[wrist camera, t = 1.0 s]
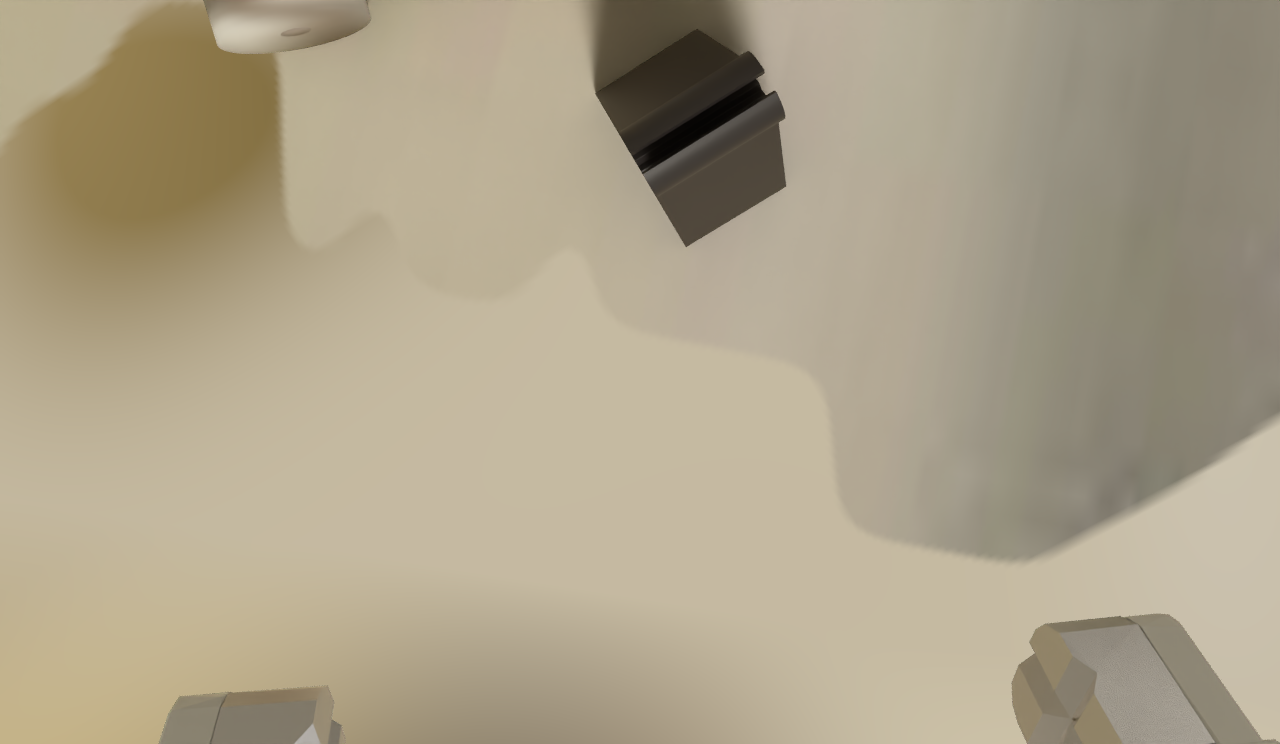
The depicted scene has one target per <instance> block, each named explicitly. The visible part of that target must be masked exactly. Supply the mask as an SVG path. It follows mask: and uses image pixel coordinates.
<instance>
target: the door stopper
mask: <svg viewBox="0 0 1280 744" xmlns="http://www.w3.org/2000/svg"><path fill="white" fill-rule="evenodd" d="M764 73H765V72H764V69H763V68H762V66H761V65H760V63H759V62H758V60H757V59H756V58H755V57H754V55H753V54H752V53H750V52H749V51H747V52H746V53H744V54H742V55H741V56H738V55H737V54H735V53H733V52H732V51H730V50H729V49H727V48H726V47H724V46H723V45H721V44H720V43H718V42H716V41H715V40H713V39H712V38H710V37H709V36H707V35H706V34H704V33H703V32H701V31H699V30H698V29H696V30H695V31H693V32H692V33H690V34H688V35H687V36H685V37H684V38H682V39H681V40H679V41H677V42H676V43H674V44H673V45H671V46H669V47H668V48H666V49H665V50H663V51H662V52H660V53H658V54H657V55H655V56H654V57H652V58H651V59H649V60H647V61H646V62H644V63H643V64H641V65H640V66H638V67H636V68H635V69H633V70H632V71H630V72H629V73H627V74H625V75H624V76H622V77H621V78H619V79H617V80H616V81H614V82H613V83H611V84H610V85H608V86H606V87H605V88H603V89H602V90H600V91H599V92H597V93H595V94H596V96H597V97H598V99H599V101H600V102H601V104H602V106H603V108H604V109H605V111H606V113H607V114H608V116H609V118H610V119H611V121H612V123H613V124H614V126H615V128H616V130H617V131H618V133H619V135H620V136H621V138H622V140H623V141H624V143H625V145H626V147H627V148H628V150H629V152H630V153H631V155H632V157H633V158H634V160H635V162H636V163H637V165H638V167H639V169H640V170H641V172H642V174H643V175H644V177H645V179H646V180H647V182H648V184H649V185H650V187H651V189H652V191H653V192H654V194H655V196H656V197H657V199H658V201H659V202H660V204H661V206H662V207H663V209H664V211H665V212H666V214H667V216H668V218H669V219H670V221H671V223H672V224H673V226H674V228H675V229H676V231H677V233H678V234H679V236H680V238H681V239H682V241H683V243H684V245H685V246H686V247H687V246H688V245H690V244H692V243H693V242H695V241H697V240H698V239H700V238H702V237H703V236H705V235H707V234H708V233H710V232H712V231H713V230H715V229H717V228H718V227H720V226H721V225H723V224H725V223H726V222H728V221H730V220H731V219H733V218H735V217H736V216H738V215H740V214H741V213H743V212H745V211H746V210H748V209H750V208H751V207H753V206H755V205H756V204H758V203H760V202H761V201H763V200H764V199H766V198H768V197H769V196H771V195H773V194H774V193H776V192H778V191H779V190H781V189H783V188H784V187H786V182H785V173H784V165H783V156H782V148H781V140H780V131H779V122H780V121H782V120H783V119H785V112H784V109H783V106H782V103H781V101H780V99H779V96H778V94H777V92H776V91H773V92H771V93H770V94H768V95H765V93H764V92H763V91H762V90H761V87H760V84H759V82H758V81H757V79H756V78H758V77H759V76H761V75H763V74H764Z"/></svg>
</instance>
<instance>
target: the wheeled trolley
mask: <svg viewBox="0 0 1280 744" xmlns="http://www.w3.org/2000/svg"><path fill="white" fill-rule="evenodd" d="M203 1H204V4H205V7H206V10H207V13H208V17H209V20H210V23H211V26H212V29H213V33H214V36H215V39H216V42H217V45H218V47H219V48H221V49H222V50H225V51H229V52H234V53H243V54H261V53H275V52H284V51H291V50H297V49H303V48H308V47H312V46H317V45H321V44H325V43H328V42H332V41H335V40H338V39H341V38H343V37H346V36H349V35H351V34H353V33H355V32H357V31H359V30H361V29H362V28H364V27H365V26H367V25H368V24H369V22H370V20H371V16H370V13H369V9H368V6H367V2H366V0H203Z"/></svg>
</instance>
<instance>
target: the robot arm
mask: <svg viewBox="0 0 1280 744" xmlns="http://www.w3.org/2000/svg"><path fill="white" fill-rule="evenodd" d="M1030 645H1031V647H1032V649H1033V650H1034V652H1035V654H1033V655H1032V656H1030V657H1029V658H1028V659H1026V660H1025V661H1024V662H1022V663H1021V664H1019V665H1018V668H1017V670H1016V673H1015V675H1014V678H1013V681H1012V700H1013V701H1012V703H1013V708H1014V712H1015V715H1016V719H1017V722H1018V725H1019V727H1020V729H1021V731H1022V733H1023V735H1024V738H1025V740H1026V742H1027V744H1280V743H1279V742H1278V741H1276V740H1262V739H1261V737H1260V736H1259V734H1258V733H1257V732H1256V730H1255V729H1254V727H1253V726H1252V724H1251V723H1250V722H1249V720H1248V719H1247V717H1246V716H1245V715H1244V713H1243V712H1242V710H1241V709H1240V707H1239V706H1238V705H1237V703H1236V702H1235V700H1234V699H1233V697H1232V696H1231V695H1230V693H1229V692H1228V690H1227V689H1226V687H1225V686H1224V685H1223V683H1222V682H1221V680H1220V679H1219V678H1218V676H1217V675H1216V673H1215V672H1214V670H1213V669H1212V668H1211V666H1210V665H1209V663H1208V662H1207V661H1206V659H1205V658H1204V656H1203V655H1202V653H1201V652H1200V651H1199V649H1198V648H1197V646H1196V645H1195V643H1194V642H1193V641H1192V639H1191V638H1190V636H1189V635H1188V634H1187V632H1186V631H1185V629H1184V628H1183V627H1182V625H1181V624H1180V623H1179V622H1178V621H1177V620H1176V619H1174V618H1173V617H1171V616H1170V615H1168V614H1167V615H1166V614H1150V615H1139V616H1129V617H1121V616H1118V617H1108V618H1099V619H1088V620H1078V621H1069V622H1059V623H1050V624H1044V625H1043V626H1040V627H1039V628H1037V629H1036V630H1035V632H1034V634H1033V636H1032V638H1031V640H1030ZM333 707H334V700H333V698H332V695H331V692H330V690H329V687H328V685H325V686H314V687H313V686H312V687H300V688H287V689H273V690H261V691H248V692H235V693H233V692H225V693H214V694H203V695H192V696H180V697H179V698H178V699H177V701H176V702H175V704H174V706H173V707H172V709H171V710H170V712H169V713H168V716H167V720H166V722H165V725H164V729H163V732H162V735H161V738H160V741H159V744H346V740H345V736H344V732H343V729H342V726H341V725H340V724H338V723H337V722H335V721H333V720H332V713H333Z"/></svg>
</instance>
